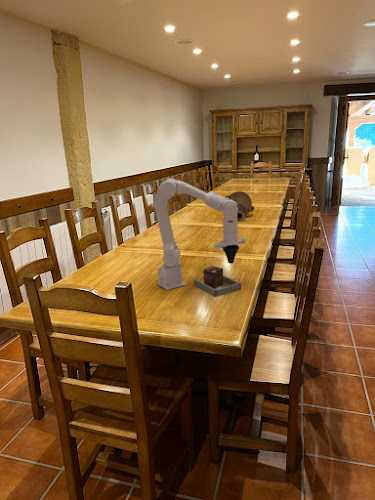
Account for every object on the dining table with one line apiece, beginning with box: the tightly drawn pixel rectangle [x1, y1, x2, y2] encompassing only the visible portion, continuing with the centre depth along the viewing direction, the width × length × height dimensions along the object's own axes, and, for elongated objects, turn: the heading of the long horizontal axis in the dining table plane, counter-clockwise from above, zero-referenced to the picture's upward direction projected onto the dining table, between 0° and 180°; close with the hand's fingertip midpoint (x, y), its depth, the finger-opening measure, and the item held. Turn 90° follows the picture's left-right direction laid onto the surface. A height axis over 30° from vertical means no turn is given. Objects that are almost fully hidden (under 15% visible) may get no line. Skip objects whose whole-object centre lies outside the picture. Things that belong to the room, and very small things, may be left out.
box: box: [203, 265, 224, 289], centre depth 155 cm, size 6×6×7 cm
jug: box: [225, 191, 255, 222], centre depth 285 cm, size 20×20×30 cm
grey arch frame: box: [193, 274, 242, 297], centre depth 154 cm, size 13×15×2 cm
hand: (230, 262), depth 154 cm, fingers closed
